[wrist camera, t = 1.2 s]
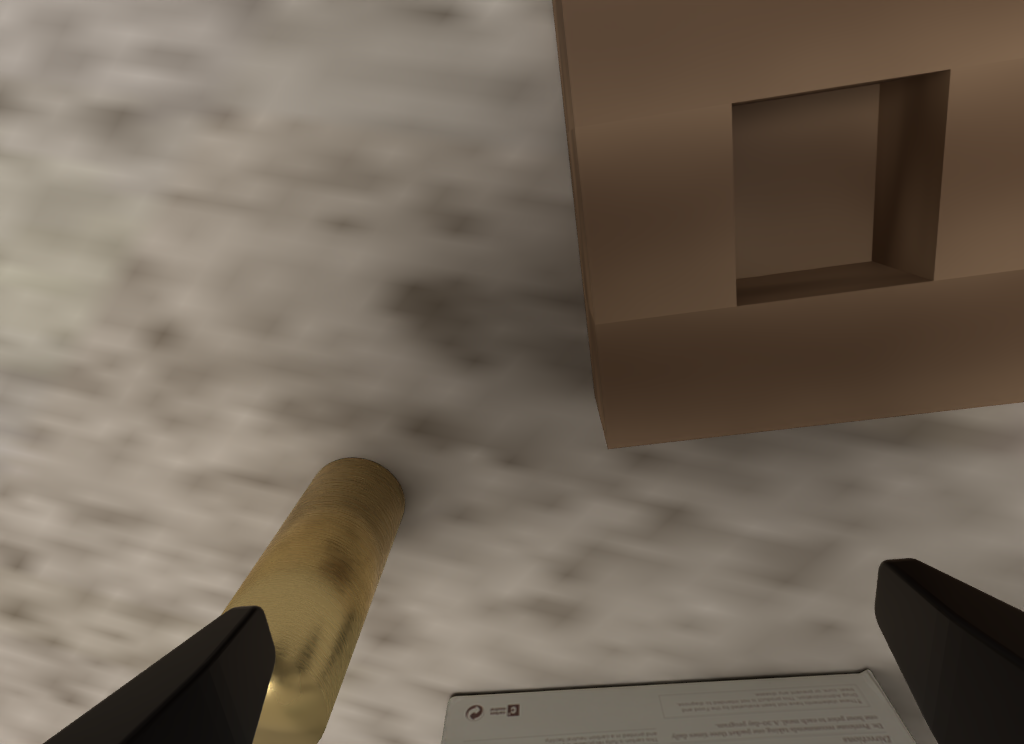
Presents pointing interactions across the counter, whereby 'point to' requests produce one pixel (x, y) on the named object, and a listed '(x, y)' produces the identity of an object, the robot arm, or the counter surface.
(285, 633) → the brass pin
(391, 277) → the counter surface
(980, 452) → the counter surface
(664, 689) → the supplement box
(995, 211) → the walnut socket block
